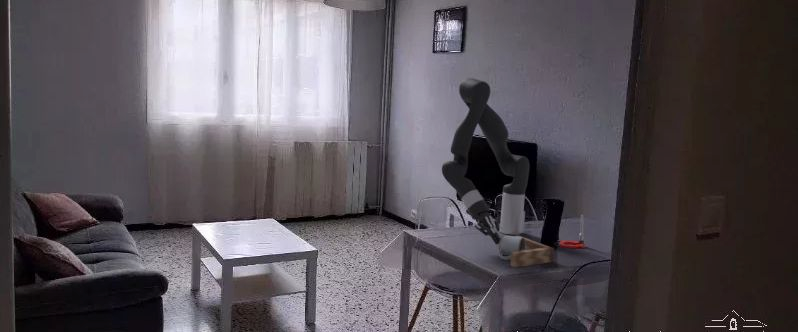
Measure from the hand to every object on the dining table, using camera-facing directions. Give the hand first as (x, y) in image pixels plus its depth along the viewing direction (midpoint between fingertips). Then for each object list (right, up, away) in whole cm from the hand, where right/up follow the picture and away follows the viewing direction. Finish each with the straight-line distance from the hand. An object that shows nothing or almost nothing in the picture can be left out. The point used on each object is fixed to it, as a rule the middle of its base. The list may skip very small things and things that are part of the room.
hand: (499, 243), depth 223 cm
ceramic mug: (+4, -5, -2) cm, 7 cm away
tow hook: (+32, -4, +19) cm, 38 cm away
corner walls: (+6, -5, -2) cm, 8 cm away
